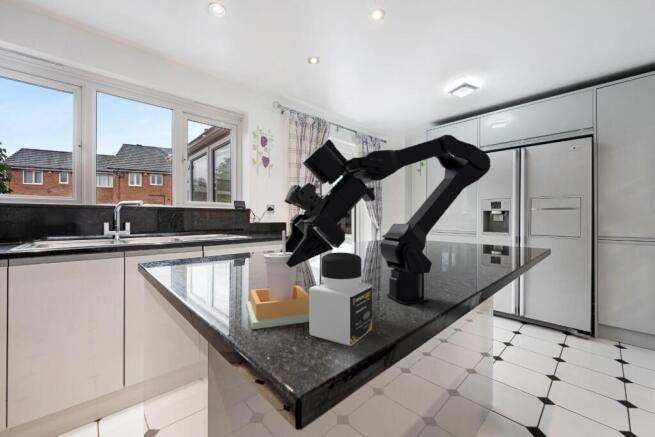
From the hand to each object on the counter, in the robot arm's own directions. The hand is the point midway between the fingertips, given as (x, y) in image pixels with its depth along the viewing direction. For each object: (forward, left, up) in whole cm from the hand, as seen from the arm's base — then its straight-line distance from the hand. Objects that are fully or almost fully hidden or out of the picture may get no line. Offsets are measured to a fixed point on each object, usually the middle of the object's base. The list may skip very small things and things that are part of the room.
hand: (283, 261), depth 52 cm
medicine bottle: (-6, +12, -10) cm, 17 cm away
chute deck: (-4, 0, -9) cm, 10 cm away
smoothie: (0, 0, -9) cm, 9 cm away
